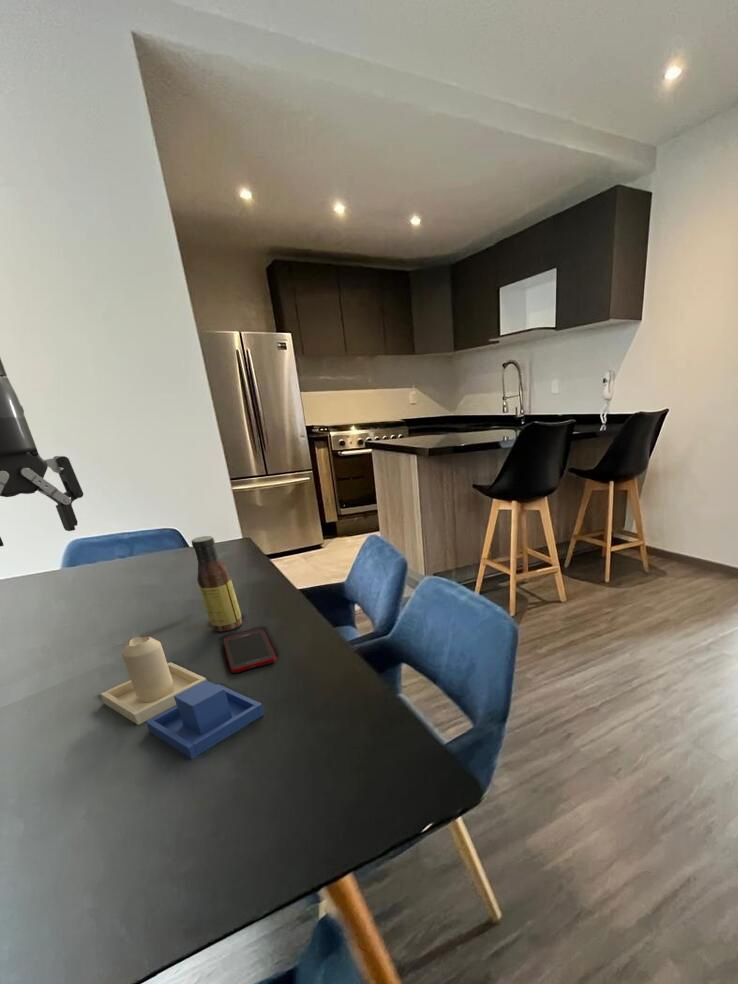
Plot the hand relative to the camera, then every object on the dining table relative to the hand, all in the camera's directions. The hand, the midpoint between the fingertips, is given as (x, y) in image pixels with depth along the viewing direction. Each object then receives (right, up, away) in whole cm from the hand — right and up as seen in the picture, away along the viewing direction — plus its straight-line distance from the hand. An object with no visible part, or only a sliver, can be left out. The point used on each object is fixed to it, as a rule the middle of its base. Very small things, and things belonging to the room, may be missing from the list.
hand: (35, 537), depth 70 cm
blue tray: (+22, -27, +4) cm, 36 cm away
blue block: (+22, -27, +4) cm, 35 cm away
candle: (+10, -25, +12) cm, 29 cm away
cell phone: (+20, -19, +24) cm, 37 cm away
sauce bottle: (+11, -15, +36) cm, 41 cm away
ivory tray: (+10, -25, +12) cm, 29 cm away
